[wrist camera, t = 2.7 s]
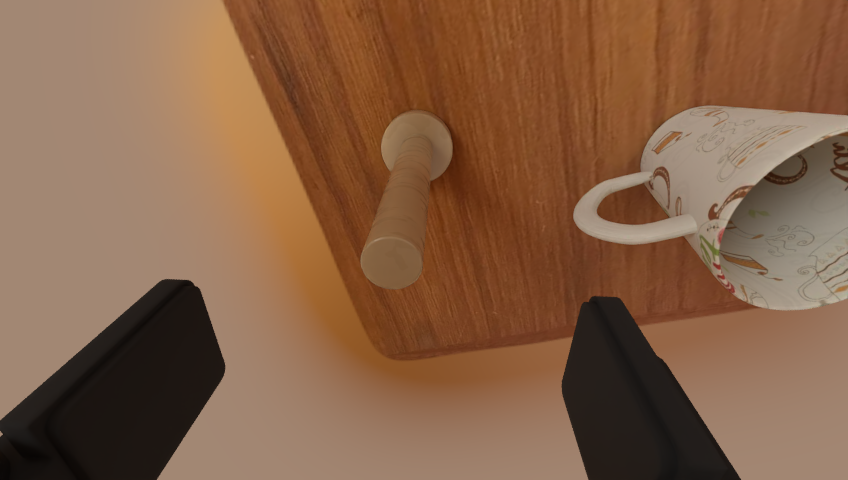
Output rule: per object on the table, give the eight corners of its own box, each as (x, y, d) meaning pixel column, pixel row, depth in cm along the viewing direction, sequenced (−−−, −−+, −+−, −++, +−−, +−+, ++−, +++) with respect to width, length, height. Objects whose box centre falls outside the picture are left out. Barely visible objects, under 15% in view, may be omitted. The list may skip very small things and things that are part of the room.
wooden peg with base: (384, 177, 26) (330, 316, 13) (381, 109, 23) (313, 198, 11) (451, 179, 25) (457, 320, 13) (453, 110, 23) (465, 202, 11)
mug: (760, 195, 25) (930, 286, 16) (564, 246, 27) (620, 348, 19) (770, 61, 21) (996, 87, 13) (541, 134, 24) (598, 197, 15)
